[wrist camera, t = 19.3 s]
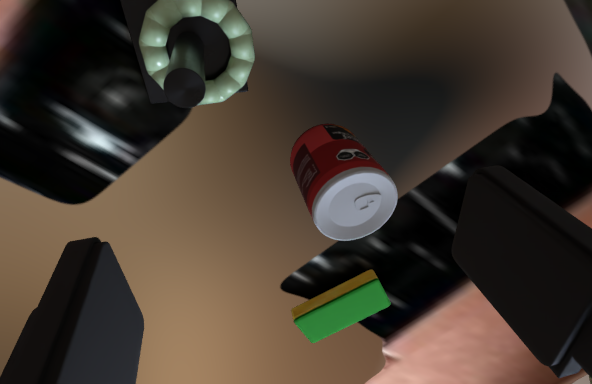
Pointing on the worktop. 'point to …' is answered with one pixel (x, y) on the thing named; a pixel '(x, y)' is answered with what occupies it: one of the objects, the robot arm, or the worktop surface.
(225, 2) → the ring
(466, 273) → the robot arm
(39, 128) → the worktop surface
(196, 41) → the stand
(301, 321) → the dish sponge
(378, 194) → the canned food
